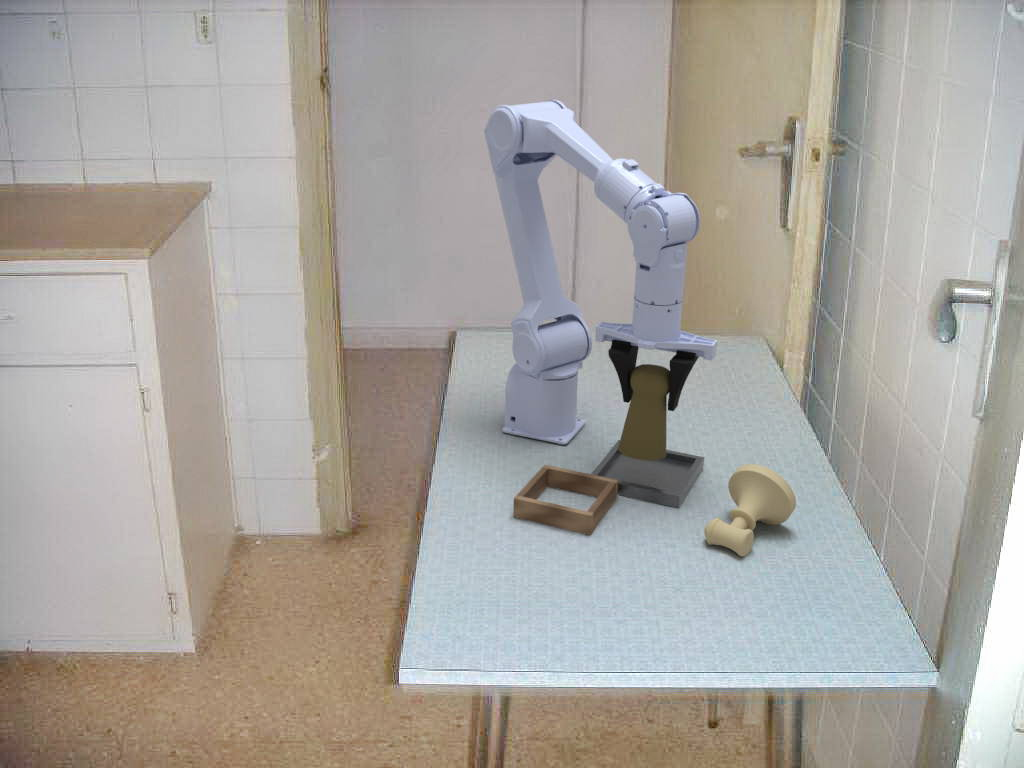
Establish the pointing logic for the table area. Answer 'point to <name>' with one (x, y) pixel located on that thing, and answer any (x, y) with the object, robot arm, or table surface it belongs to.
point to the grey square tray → (652, 476)
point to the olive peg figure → (646, 414)
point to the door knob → (752, 507)
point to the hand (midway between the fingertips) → (650, 403)
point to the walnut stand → (563, 515)
